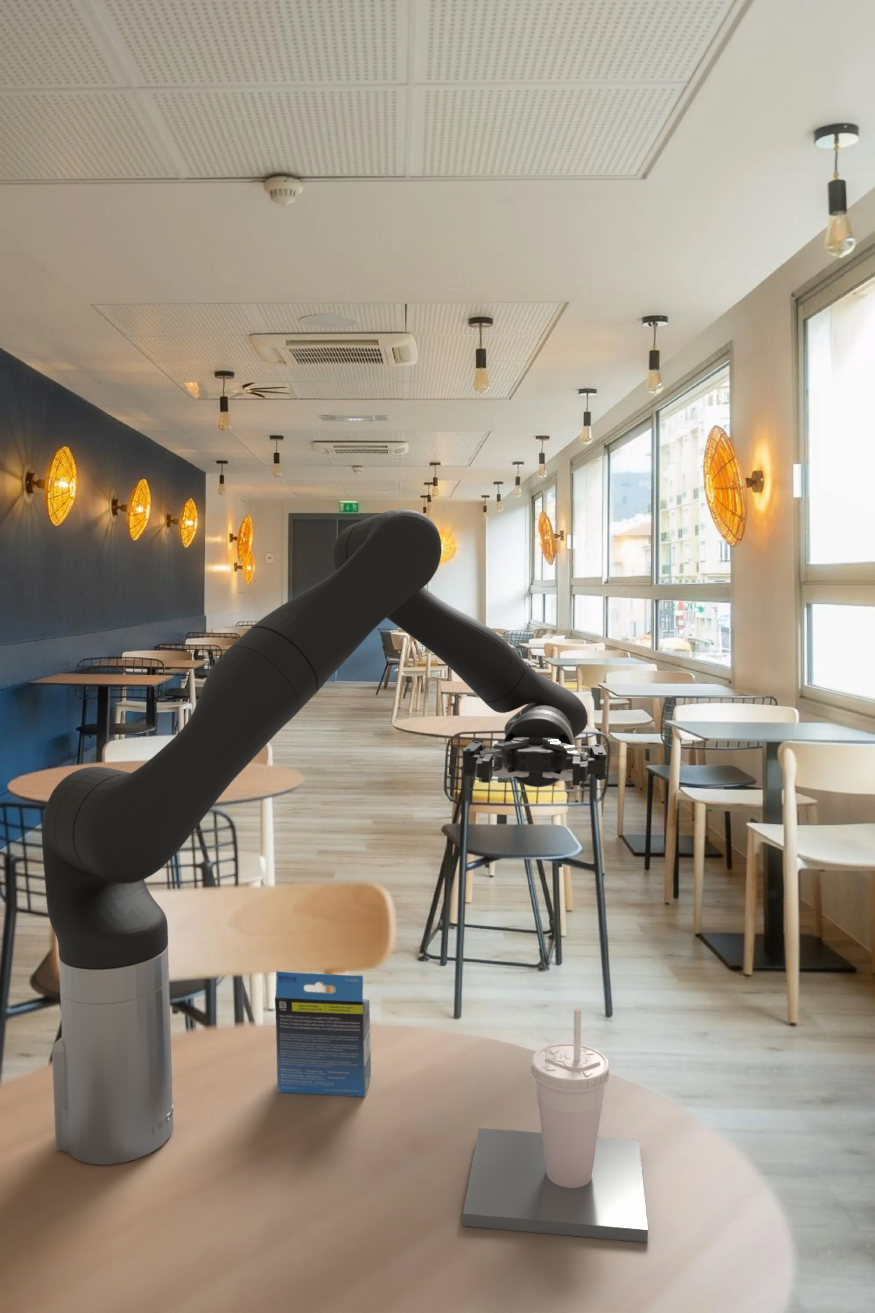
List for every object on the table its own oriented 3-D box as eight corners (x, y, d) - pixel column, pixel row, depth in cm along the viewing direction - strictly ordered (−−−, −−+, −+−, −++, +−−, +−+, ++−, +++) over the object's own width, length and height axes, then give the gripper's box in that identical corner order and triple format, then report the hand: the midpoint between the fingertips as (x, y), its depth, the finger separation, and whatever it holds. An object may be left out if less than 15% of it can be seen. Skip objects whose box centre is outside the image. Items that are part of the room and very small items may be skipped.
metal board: (462, 1226, 76) (462, 1213, 76) (478, 1138, 88) (478, 1128, 88) (647, 1242, 74) (647, 1230, 74) (638, 1151, 86) (638, 1140, 86)
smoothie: (607, 1203, 77) (609, 1030, 76) (525, 1193, 78) (526, 1023, 77) (609, 1156, 83) (611, 996, 82) (533, 1147, 85) (534, 990, 84)
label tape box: (372, 1079, 99) (371, 959, 98) (365, 1100, 95) (363, 976, 94) (286, 1074, 100) (284, 956, 99) (275, 1095, 96) (273, 972, 95)
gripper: (475, 710, 109) (455, 732, 93) (605, 713, 107) (608, 735, 91) (474, 777, 110) (455, 810, 94) (604, 781, 108) (607, 815, 92)
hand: (530, 773), depth 93 cm, fingers open, 8 cm apart
